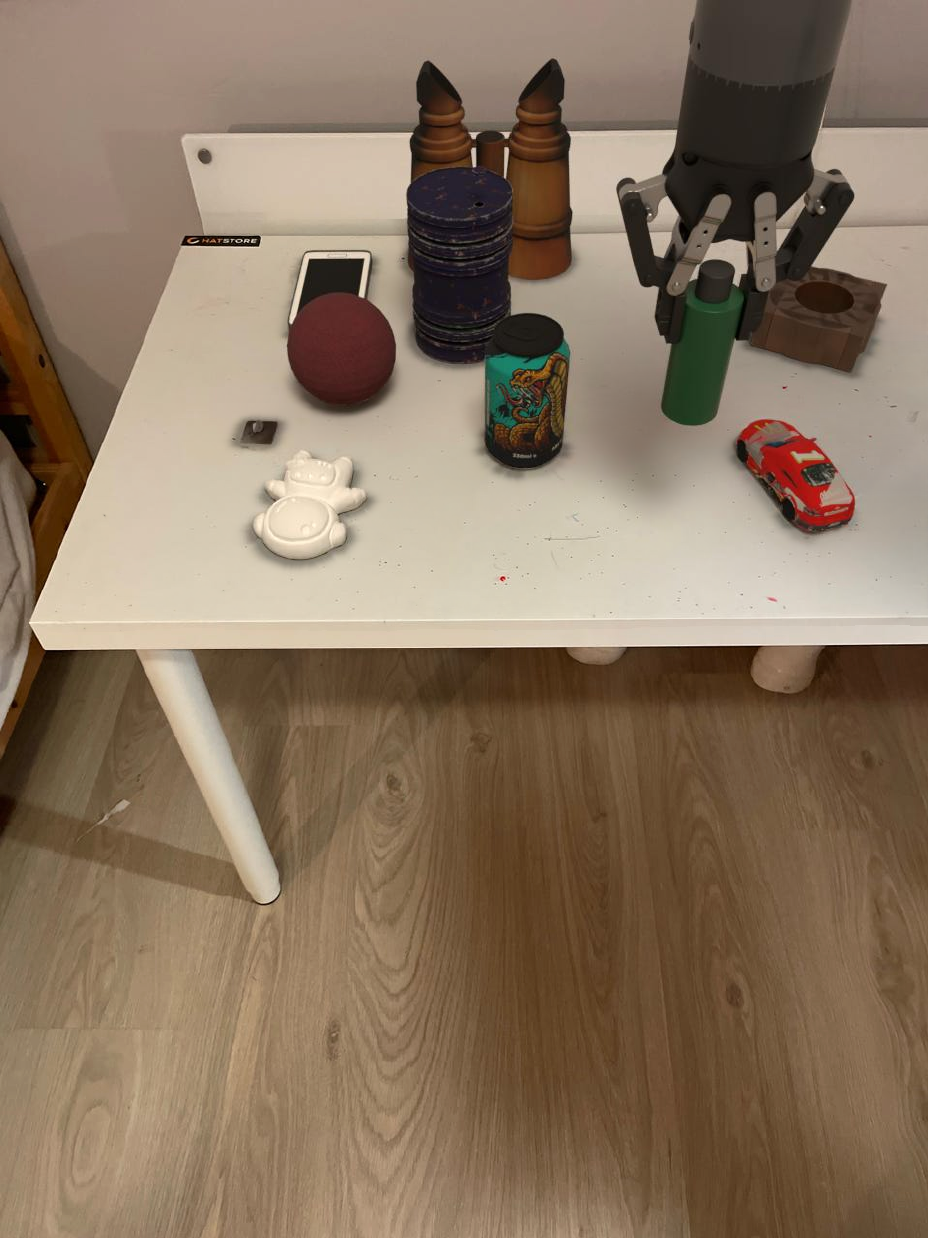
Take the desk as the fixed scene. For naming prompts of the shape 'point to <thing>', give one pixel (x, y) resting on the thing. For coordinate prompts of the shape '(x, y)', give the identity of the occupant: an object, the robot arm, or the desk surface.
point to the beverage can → (526, 390)
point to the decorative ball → (341, 349)
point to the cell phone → (330, 276)
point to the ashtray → (821, 317)
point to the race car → (796, 475)
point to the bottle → (703, 346)
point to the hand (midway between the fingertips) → (704, 334)
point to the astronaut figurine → (308, 507)
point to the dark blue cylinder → (459, 259)
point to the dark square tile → (259, 432)
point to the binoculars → (530, 167)
